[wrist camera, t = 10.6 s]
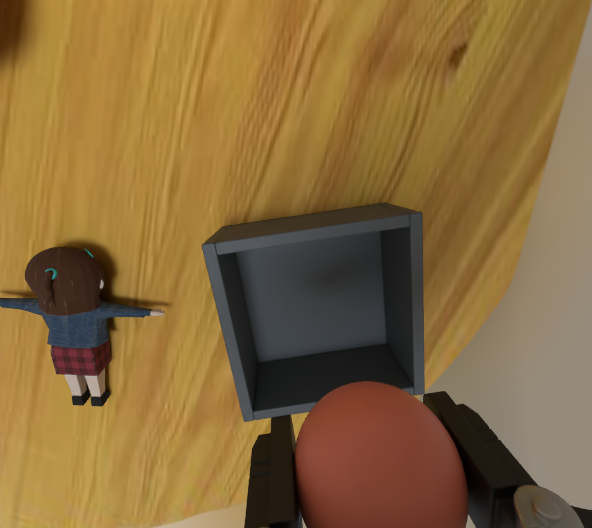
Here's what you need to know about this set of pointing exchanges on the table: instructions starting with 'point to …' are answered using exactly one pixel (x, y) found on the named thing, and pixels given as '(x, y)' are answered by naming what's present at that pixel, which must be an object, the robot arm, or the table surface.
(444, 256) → the table surface
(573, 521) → the robot arm
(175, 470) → the table surface
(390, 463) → the toy ball
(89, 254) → the toy
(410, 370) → the bin
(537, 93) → the table surface
